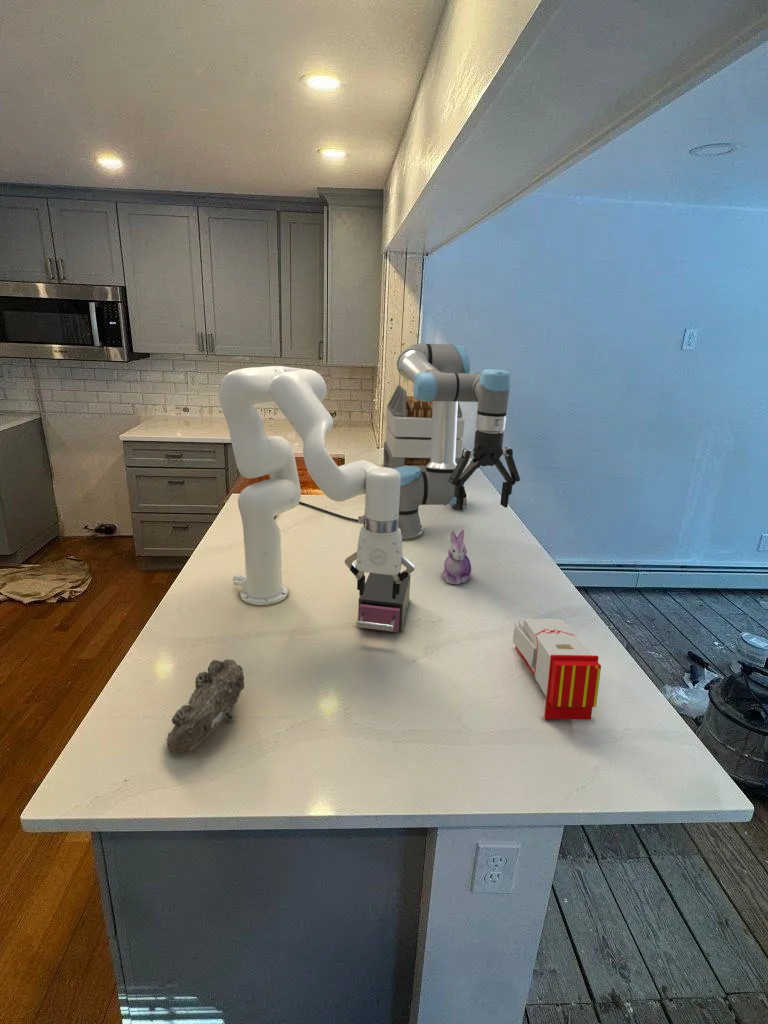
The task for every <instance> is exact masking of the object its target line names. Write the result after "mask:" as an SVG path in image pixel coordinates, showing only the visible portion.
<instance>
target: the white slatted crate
mask: <svg viewBox="0 0 768 1024" xmlns="http://www.w3.org/2000/svg"><path fill="white" fill-rule="evenodd" d="M407 394H408V393H407V390H406V389H404V388H403V387H402V385H399V384H398V385H397V386H396V388H395V390H394V392H393V394H392V395H391V398H390V400H389V402H388V404H387V405H386V413H385V414H386V415H385V423H386V428H385V438H384V442H383V467H387V468H392V469H394V468H397V467H402V466H415V467H426V465H427V464H428V463H429V462H430V459H431V433H432V407H433V401H430V402H427V401H420V400H417V399H416V398H415V396H413V395H412V396H411V395H407ZM464 429H465V419H464V418H463V411H462V408H461V405H460V402H458V413H457V434H456V456H455V462H456V464H457V463H458V462H459V460H460V458H461V455H462V450H463V442H464V441H463V440H462V439H463V438H464V431H465V430H464Z"/></svg>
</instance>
